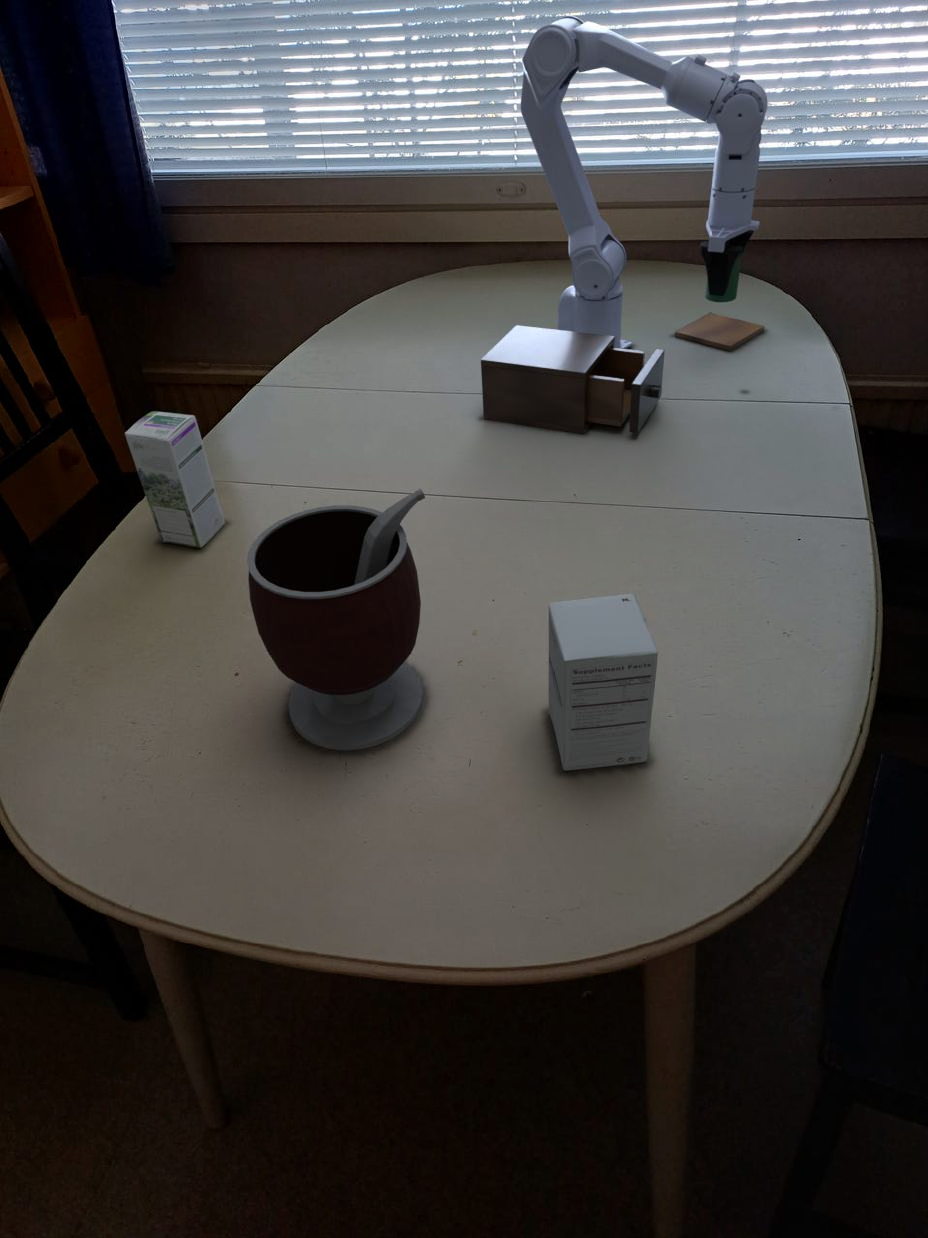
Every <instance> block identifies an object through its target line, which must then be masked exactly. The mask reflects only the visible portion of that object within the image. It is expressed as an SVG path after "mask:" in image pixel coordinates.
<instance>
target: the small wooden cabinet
mask: <svg viewBox="0 0 928 1238" xmlns="http://www.w3.org/2000/svg"><path fill="white" fill-rule="evenodd" d="M614 345H615V336H608V335H599V334H590V333H581V332H572V331H563V330H558V329H553V328H545V327H534V326H526V325H518V324H517V325H515V326H514V327H513V328H512V329H511V330H510V331H509V332H507V334H506V335H504V337H503V338H502V339H501V340H499V341H498V343H497V344H495V346H493V347H492V348H491V349H490V350H489V351H488V352H487V353H486V354H485V355H484V356H483V357H482V358H481V359H480V372H481V374H480V375H481V391H482V392H481V393H482V411H483V419H484V420H489V421H490V420H491V421H498V422H504V423H509V424H510V423H511V424H517V425H521V426H522V425H523V426H530V427H535V428H541V429H542V428H543V429H548V430H554V431H563V432H569V433H575V434H582V435H584V434H585V433H586V431H587V430H588V429H589V427H590V426H591V425H592V423H593V422H587V421H586V389H587V375H588V374H589V373H590V372H591V370H592V369H593V368H594V367H595V365H596V364H597V363H598V362H599V360H600V359H601V358H602V357H603V355H604V354H605V353H606V352H607V350H608V349H609V348H610V347H611V348H614Z"/></svg>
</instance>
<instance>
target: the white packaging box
mask: <svg viewBox="0 0 928 1238" xmlns="http://www.w3.org/2000/svg"><path fill="white" fill-rule="evenodd" d="M657 647H658V646H657V645H656V642H655V640H654V637H653V635H652V633H651V630H650V628H649V624H648V623H647V619H646V618H645V615H644V613H643V610H642V607H641V606H640V603H639V601H638V598H637V595H636V594H634V593H631V594H630V593H629V594H618V595H617V594H615V595H607V596H599V597H598V596H597V597H588V598H581V599H580V598H579V599H571V600H562V601H554V602H550V603H548V713H549V716H550V720H551V723H552V726H553V730H554V734H555V739H556V743H557V747H558V751H559V756H560V761H561V767H562V771H577V770H585V769H586V770H587V769H596V768H605V767H613V766H623V765H630V764H640V763H645V762H647V761H648V755H649V745H650V734H651V725H652V716H653V705H654V699H655V698H654V697H655V690H656V689H655V688H656V678H657V669H658V657H659V656H658V655H659V650H658V648H657Z"/></svg>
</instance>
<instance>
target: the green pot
mask: <svg viewBox="0 0 928 1238" xmlns="http://www.w3.org/2000/svg"><path fill="white" fill-rule="evenodd" d="M731 246H732V245H731ZM744 256H745V249H742V250H741V252H740V254H739V255H738V257H737V259H736V261H735V264H734V267H733V269H732V273H731V277H730V280H729V284H728V288H727V290H726V293H725V295H724V296H716V295H710V294H709V289H708V279H707V278H706V283H705V293H704V298H705V299H706V300H707V301H710V302H713V303H730V302H733V301H736V299H737V295H738V286H739V280H740V273H741V264H742V258H743V257H744Z"/></svg>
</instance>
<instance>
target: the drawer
mask: <svg viewBox="0 0 928 1238" xmlns="http://www.w3.org/2000/svg"><path fill="white" fill-rule="evenodd" d="M665 352H666V351H665V349H660V348H659V349H658V348H657V349H655V350H654V351H653V353H652V355H651V356H650V357H649V359H648V360H647V361H646V363H645V357H646V351H644V350H637V349H628V348H626V349H620V348H611V347H610V348H609V349H608V350H607V352H606V353H605V354H604V355H603V357H602V358H601V359H600V360H599V362H598V363H597V364H596V365H595V367H594V368H593V369H592V370H591V372H590V373H589V374H588V375H587V389H586V421H587V422H592V423H593V424H594V423H595V424H603V425H608V426H615V427H622V426H623V424H624V422H625V421H626V419H627V418H628V417H629V420H628V421H629V422H628V423H629V424H628V426H629V427H628V433H631V434H639V432H640V431H641V429H642V428H643V426H644V424H645V423H646V421H647V420H648V418H649V416H650V415H651V413H652V411H653V410H654V409H655V407H656V405H657V404H658V402H659V401H660V399H661V398H662V392H663V377H664V376H663V374H664V363H665Z"/></svg>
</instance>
